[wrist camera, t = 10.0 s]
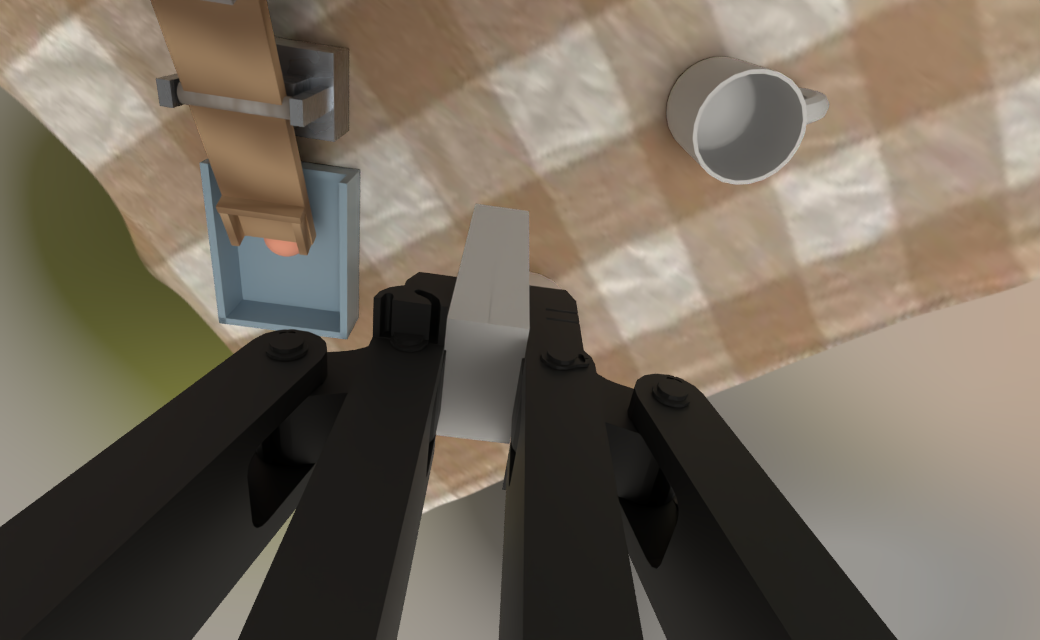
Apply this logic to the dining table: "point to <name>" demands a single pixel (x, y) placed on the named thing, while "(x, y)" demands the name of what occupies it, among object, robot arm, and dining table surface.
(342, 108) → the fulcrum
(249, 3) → the lever
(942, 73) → the dining table surface
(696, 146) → the cup
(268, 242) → the ball
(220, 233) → the tray
